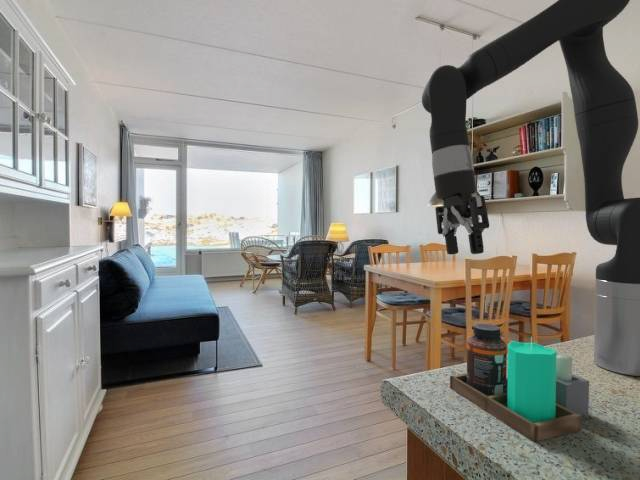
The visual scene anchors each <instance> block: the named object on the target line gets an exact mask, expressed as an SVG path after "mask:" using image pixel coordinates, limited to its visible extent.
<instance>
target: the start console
mask: <svg viewBox="0 0 640 480" xmlns="http://www.w3.org/2000/svg"><path fill="white" fill-rule="evenodd" d="M556 403H557V404H559V405H561V406H563V407H565V408H567V409H569V410H571V411H573V412H575V413H577V414H579V415H581V417H583V416H587V415H589V414H590V413H589V411H590V409H589V407H590V406H589V405H590V380H588V379H586V378H583V377H580V376H578V375H576V374H573V373H572V381H569V382H563V381H561V380H559V379H556Z"/></svg>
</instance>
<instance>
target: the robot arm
mask: <svg viewBox="0 0 640 480" xmlns="http://www.w3.org/2000/svg"><path fill="white" fill-rule="evenodd" d="M630 1H631V0H557V1H555V2H554V3H553V4H551V5H549V6H548V7H547V8H545V9H544V10H542V11H540V13H537V14H536V15H534V16H533V17H531V18H530V19H528V20H527V21H525V22H523V23H521V24H519V26H517V27H515V28H513V29H511V30H510V31H508V32H506V33H504V34H502V35H500V36H499V37H497V38H496V39H493V40H492V41H491V42H488V43H487V44H485V45H483V46H482V47H480V48H478V49H477V50H475V51H474V52H472V53H471V54H469V55H468V56H467V57H466V58H465V59H464V60H463V62H462V63H461V64H460V65H459V66H458V67H456V66H454V65H452V64H451V65H449V64H445V65H444V64H443V65H442V66H441V65H440V66H439V67H437V68H436V69H434V70H433V72H432V73H430V75H429V77H428V79H427V81H426V84H425V87H424V89H423V92H422V94H421V104H422V107H423V109H424V110H425V111H426V113H427V112H428V113H429V114H430V117H431V123H430V128H429V142H430V151H431V166H432V174H433V183H434V188H435V189H434V190H435V196H436V199H438V200H442V201H443V203H442V204H443V205H440V206H436V207H435V209H434V210H435V216H436V217H435V219H436V227H437V234H438V235H442V237H444V240H445V247H446V253H447V255H456V254H458V253H459V246H458V238H457V235H456V234H457V230H458V228H460V227H461V226H462V227H464V228H465V229H466V231H467V233H468V243H469V249H470V251H469V252H470V253H471V254H472V255H478V254H483V253H484V247H485V246H484V240H483V239H484V238H483V232H485V231H484V230H485V229H489V228H490V221H489V215H488V210H487V204H486V199H485V196H484V195H477V196H476V195H475V196H473V195H474V194H475V193H477V191H478V189H477V182H476V181H477V180H476V174H475V168H474V167H475V166H474V160H473V156H472V152H471V148H470V141H469V135H468V129H467V128H468V127H467V125H466V124H467V121H466V117H467V100H469V99H470V98H471V97H472V96H474V95H475V94H476V93H478V92H479V91H481V90H483V89H484V88H486V87H488V86H490V85H493V84H494V83H496V82H497V81H499V80H501V79H503V78H505V77H506V76H508V75H509V74H511V73H512V72H514V71H516V70H518V69H519V68H520V67H522V66H523V65H525V64H527V63H528V62H529V61H530V60H533V58H535V57H537V56H538V55H539V54H541V53H542V52H543V51H545V50H546V49H547V48H549V47H551V46H552V45H554V44H556V43H557V42H558V41H559V46H560V48H561V52H562V56H563V59H564V62H565V65H566V71H567V76H568V82H569V87H570V92H571V97H572V105H573V113H574V120H575V125H576V126H575V127H576V133H577V137H578V141H579V147H580V154H581V163H582V169H583V170H582V171H583V180H584V201H585V202H584V205H585V206H584V207H585V221H586V228H587V231H588V233H589V236H591V238H592V240H594V241H596V242H597V243H600V244H601V245H605V246H606V245H608V246H616V247H615V248H616V249H615V254H614V256H613V257H612V258H611V259H609V260H608V261H605V262H601V263H599V264H598V265H596V268H595V285H594V286H595V287H594V292H595V293H594V294H595V295H594V297H595V299H594V336H593V337H594V338H593V339H594V340H593V341H594V342H593V344H594V345H593V362H594V363H595V364H596V365H597V366H598V367H600V368H603V369H606V370H608V371H611V372H614V373H617V374H622V375H626V376H627V375H628V376H636V377H640V197H629V198H625V197H624V191H623V190H624V189H623V183H622V178H623V169H624V166H625V163H626V160H627V158H628V156H629V153H630V151H631V149H632V146H633V144H634V142H635V139H636V137H637V134H638V130H639V117H638V110H637V101H636V97H635V93H634V90H633V87H632V85H631V84H630V83H629V82H628V80H627V79H626V78H625V77H624V76H623V75H622V74H621V73H620V72H619V71H618V70H617V68H615V67H614V66H613V65H612V63H611V62H610V61H609V59H608V56H607V53H606V47H605V41H604V27H605V26H606V25H608V24H609V23H610V22H611V21H613V20H614V19H616V18H617V17H618V16H619V15H620V14H621V13H622V12H623V11H624V10H625V9H626V7H627V6H628V4H629V2H630ZM480 217H481V218H480ZM480 220H481V221H482V222H481V221H480Z"/></svg>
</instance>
